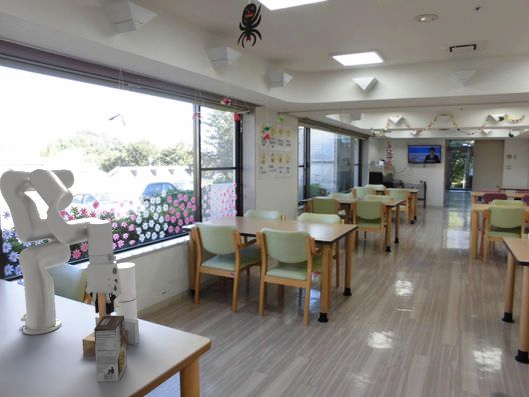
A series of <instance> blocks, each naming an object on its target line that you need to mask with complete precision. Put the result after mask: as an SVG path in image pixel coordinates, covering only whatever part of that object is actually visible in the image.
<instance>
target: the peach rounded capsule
mask: <svg viewBox="0 0 529 397" xmlns="http://www.w3.org/2000/svg"><path fill="white" fill-rule="evenodd" d="M106 303H107V298H106V294H103V293H98V307H99V313H98V315H99V322H100V320H101V319H102V317H103V316H112V315H111V314H112V313H111V314H109V315H107V314H106Z"/></svg>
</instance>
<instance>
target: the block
mask: <svg viewBox="0 0 529 397" xmlns="http://www.w3.org/2000/svg"><path fill="white" fill-rule="evenodd" d="M125 340H126V346H127V345H129V344H128V330H125ZM81 342H82V353H83V355H89V356H95V357H96V350H95V334H94V332H92V333H90V334H89V335H87V336H85V337H83V338H82V340H81Z"/></svg>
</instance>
